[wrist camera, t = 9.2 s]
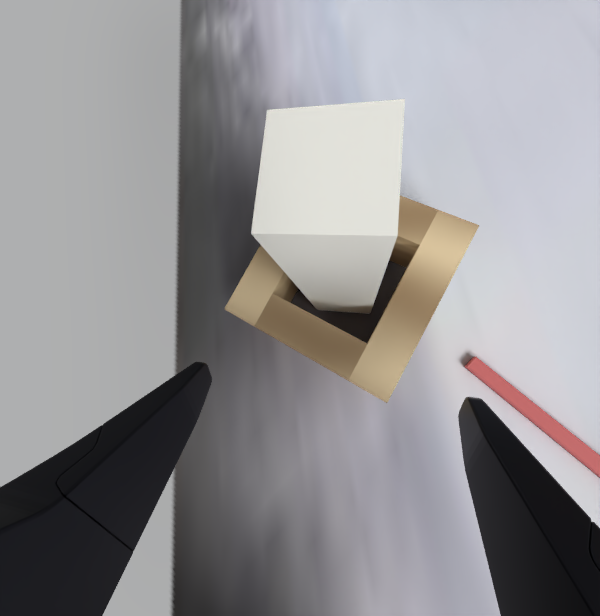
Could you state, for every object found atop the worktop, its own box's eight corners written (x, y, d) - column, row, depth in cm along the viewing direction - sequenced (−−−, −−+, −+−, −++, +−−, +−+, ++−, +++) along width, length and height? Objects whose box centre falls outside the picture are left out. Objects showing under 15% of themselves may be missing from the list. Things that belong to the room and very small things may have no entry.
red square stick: (730, 563, 13) (741, 569, 13) (719, 575, 13) (730, 582, 13) (473, 356, 17) (476, 357, 16) (464, 366, 17) (466, 367, 16)
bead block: (380, 392, 17) (386, 402, 14) (249, 317, 20) (224, 309, 16) (452, 253, 18) (479, 225, 14) (316, 197, 20) (307, 160, 17)
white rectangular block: (370, 313, 18) (397, 235, 6) (317, 310, 19) (251, 233, 7) (373, 262, 19) (404, 99, 7) (321, 260, 20) (267, 110, 8)
